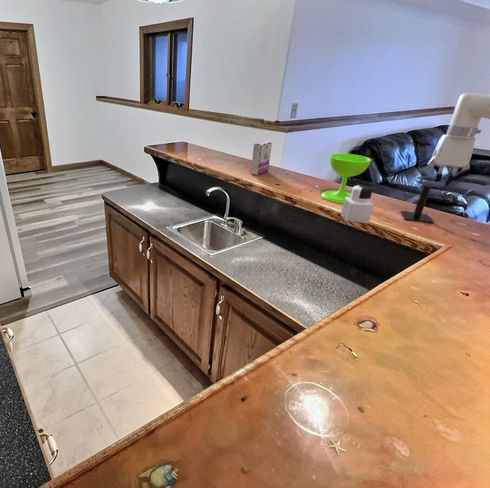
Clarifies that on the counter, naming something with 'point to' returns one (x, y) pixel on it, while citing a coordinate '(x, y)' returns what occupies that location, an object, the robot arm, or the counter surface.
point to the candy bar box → (261, 157)
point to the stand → (419, 208)
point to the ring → (429, 181)
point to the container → (358, 205)
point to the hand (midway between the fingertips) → (441, 184)
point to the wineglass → (345, 173)
